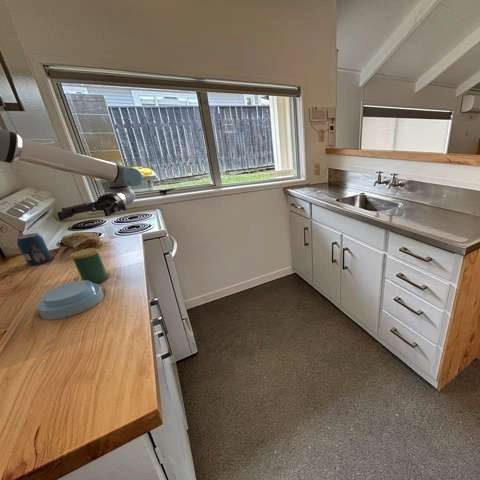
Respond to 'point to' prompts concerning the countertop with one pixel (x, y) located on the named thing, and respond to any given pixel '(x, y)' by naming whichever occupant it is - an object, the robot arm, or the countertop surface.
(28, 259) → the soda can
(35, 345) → the countertop surface
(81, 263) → the tea tin
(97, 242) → the sponge
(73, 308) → the upturned bowl
